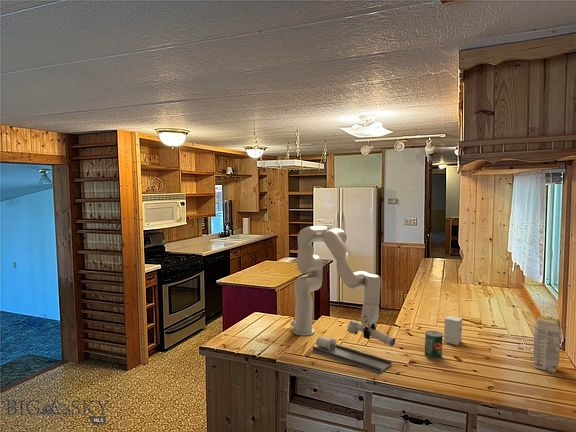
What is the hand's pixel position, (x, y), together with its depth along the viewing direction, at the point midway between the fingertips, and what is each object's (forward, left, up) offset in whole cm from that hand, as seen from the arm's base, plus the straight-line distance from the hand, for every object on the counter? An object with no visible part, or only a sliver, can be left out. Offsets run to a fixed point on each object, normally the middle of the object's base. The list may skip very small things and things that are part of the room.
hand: (369, 336), depth 188 cm
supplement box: (+26, +44, -8) cm, 52 cm away
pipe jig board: (-3, -12, -8) cm, 15 cm away
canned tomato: (+25, +18, -8) cm, 32 cm away
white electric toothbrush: (0, 0, -1) cm, 1 cm away
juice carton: (+68, +39, -8) cm, 79 cm away
